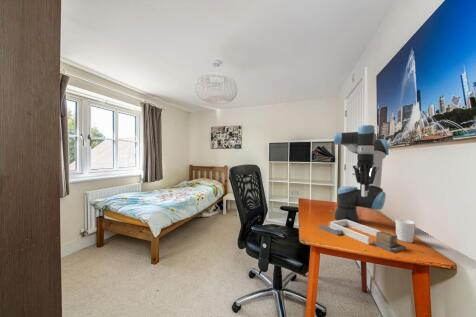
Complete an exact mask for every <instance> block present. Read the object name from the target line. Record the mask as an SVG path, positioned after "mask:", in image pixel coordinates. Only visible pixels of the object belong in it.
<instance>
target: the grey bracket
mask: <svg viewBox="0 0 476 317" xmlns="http://www.w3.org/2000/svg"><path fill="white" fill-rule="evenodd" d="M371 244H372V245H374V246H376V247H378V248H381V249H383V250H384V251H385V250H386V251H388V252H390V253H396V252H399V251H402V250H406V245H403V244H400V243H398V242H397V247H396V248H392V249H391V248H389V247H386V246H384V245H381V244H379V243H376V241H372V242H371Z"/></svg>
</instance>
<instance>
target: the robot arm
mask: <svg viewBox="0 0 476 317" xmlns="http://www.w3.org/2000/svg"><path fill="white" fill-rule="evenodd" d="M375 132H376V130H375V125H372V124H364V125H359V126H358V128H357V131H351V132H350V131H349V132H336V133H335V134H334V136H333V143H334V145H336V146H337V145H338V146H339V145H340V146H341V145H342V146H344V147H345V148H347V150H348V151H349V152H351V153H353V154H355V155H357V156H356V158H357V162H356V164H355V165H352V168H353V170H354V175H355V179H356V180H355V181H356V183H358V184H359V185H360V187H359V188H358V186H339V188H338V190H337V208H336V210H335V213H334V219H335V221H339V220H345V219H347V220H350V221H353V222H356V223H359V222H360V217H359V213H358V211H357V210H358V209H357V208H363V209H368V210H369V209H370V210H378V211H381V210H382V209H383V208H384V206H385V202H386V196H387V193H386V192H384V189H383V188H382V187H381V183H382V171H383V162H384V161H383V160H384V159H385V158H386V156H388V155H389V146H388V140H387V139H384V138H382V139H381V138H379V139H377V137H378V136H377V133H375ZM359 224H360V223H359Z"/></svg>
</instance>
